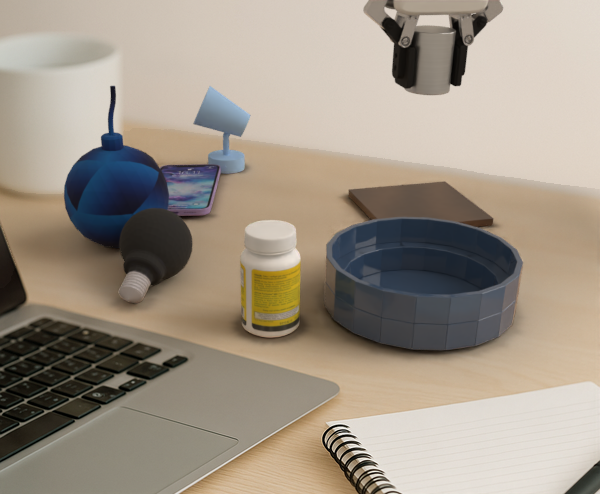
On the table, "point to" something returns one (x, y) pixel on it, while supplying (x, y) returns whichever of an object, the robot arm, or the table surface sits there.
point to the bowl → (422, 282)
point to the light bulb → (152, 250)
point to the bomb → (112, 187)
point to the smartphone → (191, 188)
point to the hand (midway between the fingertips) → (427, 82)
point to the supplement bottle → (270, 279)
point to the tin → (432, 59)
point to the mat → (419, 203)
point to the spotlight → (223, 128)
